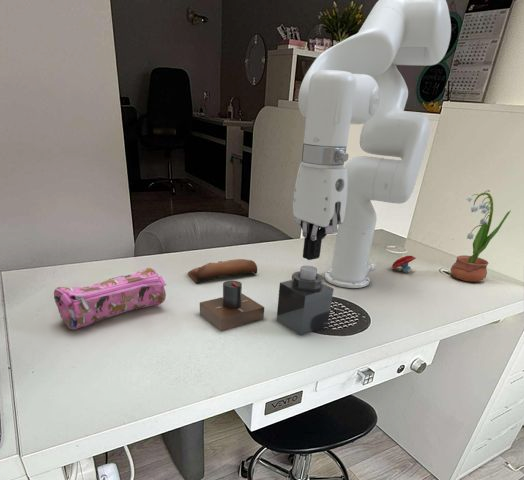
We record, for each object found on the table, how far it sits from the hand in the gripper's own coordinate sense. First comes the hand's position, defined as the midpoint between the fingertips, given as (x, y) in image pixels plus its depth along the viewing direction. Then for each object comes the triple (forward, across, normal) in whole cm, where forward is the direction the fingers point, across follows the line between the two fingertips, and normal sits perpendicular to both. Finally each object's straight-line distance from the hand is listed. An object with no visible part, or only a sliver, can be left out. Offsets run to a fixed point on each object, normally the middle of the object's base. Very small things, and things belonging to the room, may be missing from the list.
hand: (310, 257), depth 78 cm
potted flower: (+16, -3, -64) cm, 66 cm away
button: (+16, +10, -51) cm, 54 cm away
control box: (+15, +10, +12) cm, 22 cm away
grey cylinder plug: (+4, 0, 0) cm, 4 cm away
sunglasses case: (+15, +33, 0) cm, 37 cm away
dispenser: (+15, 0, +1) cm, 15 cm away
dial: (+12, +10, +12) cm, 20 cm away
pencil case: (+15, +23, +33) cm, 43 cm away
